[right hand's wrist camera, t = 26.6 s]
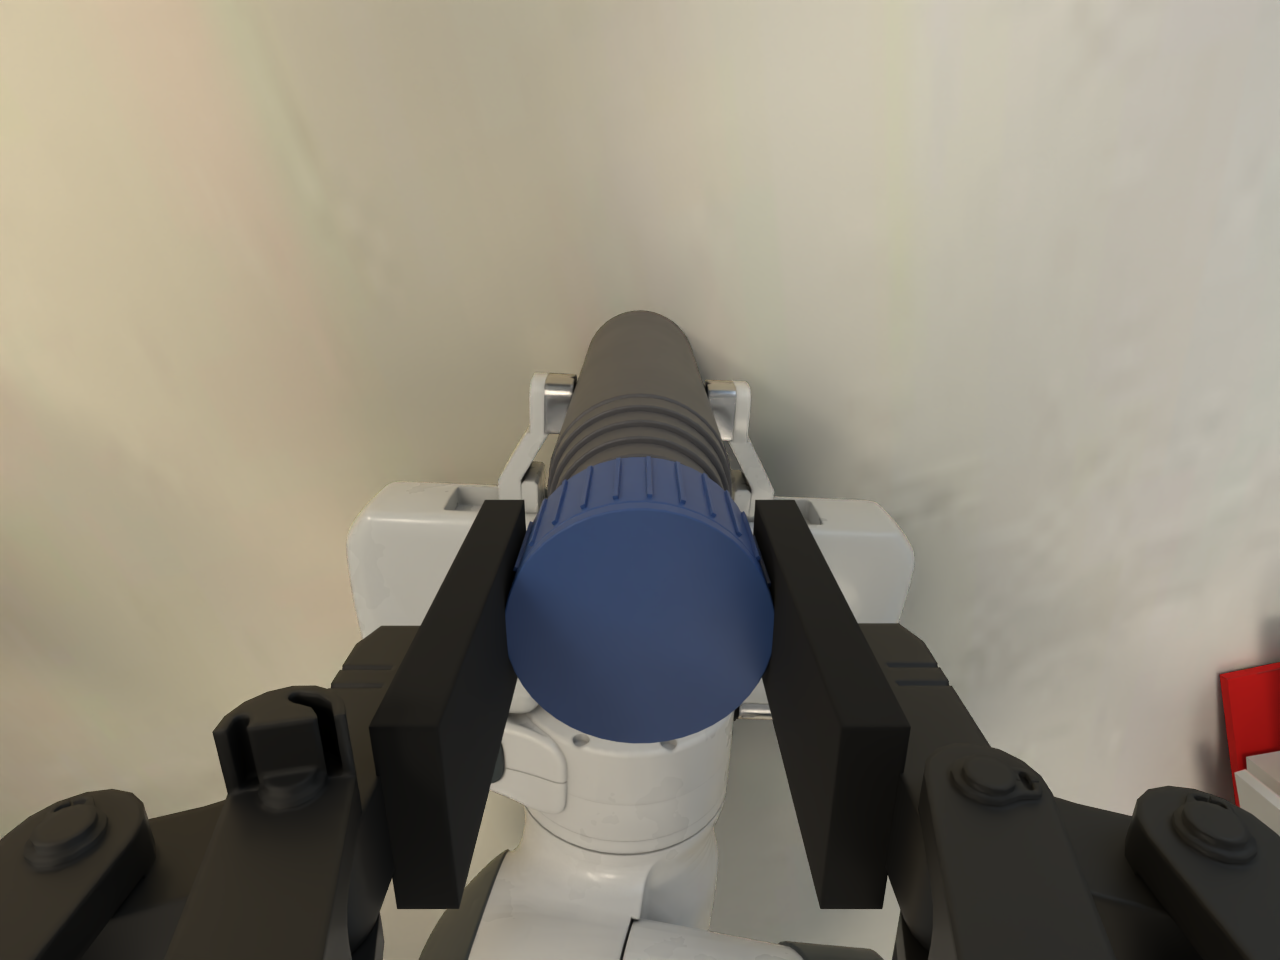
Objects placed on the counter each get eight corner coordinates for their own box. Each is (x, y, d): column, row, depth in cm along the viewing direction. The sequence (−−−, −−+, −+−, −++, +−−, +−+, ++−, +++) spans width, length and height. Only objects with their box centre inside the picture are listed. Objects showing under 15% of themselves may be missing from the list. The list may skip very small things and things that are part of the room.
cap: (792, 493, 14) (822, 552, 12) (710, 687, 16) (722, 773, 13) (558, 422, 14) (541, 468, 11) (497, 630, 15) (471, 708, 13)
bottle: (687, 303, 31) (763, 473, 12) (698, 409, 33) (779, 706, 14) (578, 317, 31) (482, 505, 12) (594, 421, 33) (532, 732, 14)
